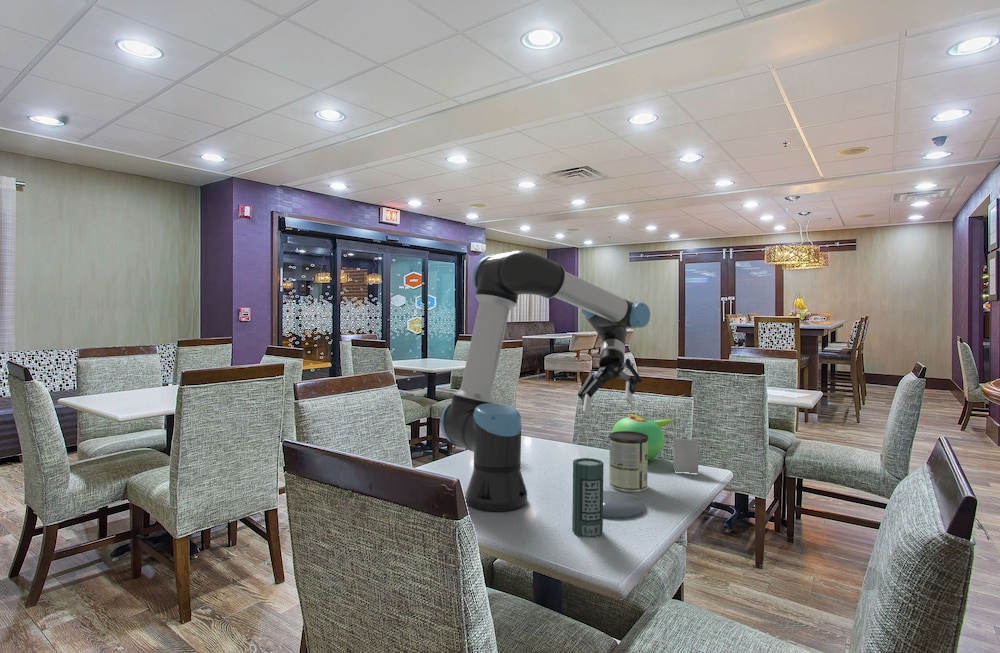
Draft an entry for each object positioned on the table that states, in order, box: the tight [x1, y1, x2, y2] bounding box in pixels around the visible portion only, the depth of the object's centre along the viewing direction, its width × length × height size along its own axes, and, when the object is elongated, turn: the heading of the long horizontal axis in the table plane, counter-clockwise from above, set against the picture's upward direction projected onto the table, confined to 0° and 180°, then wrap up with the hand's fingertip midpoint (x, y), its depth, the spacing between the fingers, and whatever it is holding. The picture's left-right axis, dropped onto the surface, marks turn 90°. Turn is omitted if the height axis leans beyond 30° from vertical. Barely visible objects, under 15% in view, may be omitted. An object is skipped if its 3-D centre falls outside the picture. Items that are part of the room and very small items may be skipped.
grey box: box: [672, 438, 699, 474], centre depth 159 cm, size 4×7×10 cm, turn 75°
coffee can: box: [608, 431, 649, 493], centre depth 145 cm, size 10×10×14 cm
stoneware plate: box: [603, 490, 645, 520], centre depth 130 cm, size 16×16×1 cm
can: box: [571, 457, 605, 539], centre depth 114 cm, size 6×6×15 cm
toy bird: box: [611, 413, 674, 460], centre depth 175 cm, size 18×17×15 cm
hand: (606, 407), depth 152 cm, fingers open, 13 cm apart
